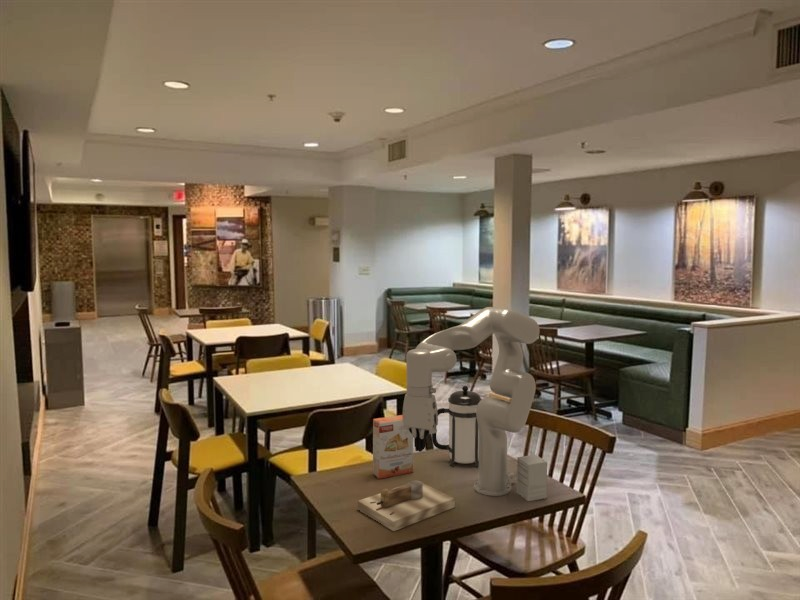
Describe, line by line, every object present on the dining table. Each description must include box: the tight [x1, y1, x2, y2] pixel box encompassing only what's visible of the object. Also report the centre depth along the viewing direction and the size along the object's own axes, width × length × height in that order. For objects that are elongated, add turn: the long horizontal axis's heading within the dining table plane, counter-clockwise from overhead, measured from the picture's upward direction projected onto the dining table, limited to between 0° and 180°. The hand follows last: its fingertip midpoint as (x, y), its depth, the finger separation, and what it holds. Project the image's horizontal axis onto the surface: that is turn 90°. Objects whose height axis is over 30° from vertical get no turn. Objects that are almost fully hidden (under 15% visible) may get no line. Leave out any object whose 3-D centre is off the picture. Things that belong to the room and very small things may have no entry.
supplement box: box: [516, 454, 548, 502], centre depth 196 cm, size 7×7×13 cm
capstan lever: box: [377, 480, 424, 508], centre depth 185 cm, size 18×5×5 cm, turn 129°
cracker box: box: [372, 414, 414, 480], centre depth 215 cm, size 14×6×21 cm, turn 117°
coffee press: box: [431, 385, 483, 469], centre depth 225 cm, size 17×16×30 cm
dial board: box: [357, 482, 456, 532], centre depth 187 cm, size 25×18×3 cm
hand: (420, 449), depth 178 cm, fingers closed
